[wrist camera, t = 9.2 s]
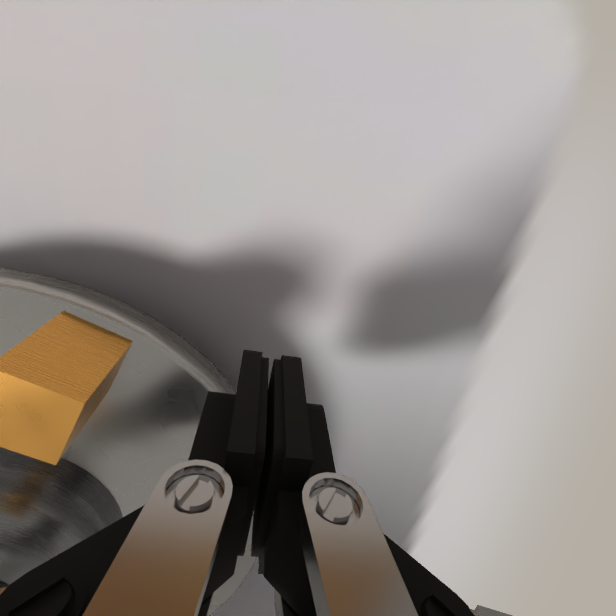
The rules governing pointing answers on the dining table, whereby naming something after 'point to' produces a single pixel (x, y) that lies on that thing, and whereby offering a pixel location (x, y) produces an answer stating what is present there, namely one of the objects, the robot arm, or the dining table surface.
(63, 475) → the cover
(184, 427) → the turntable
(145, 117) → the dining table surface
